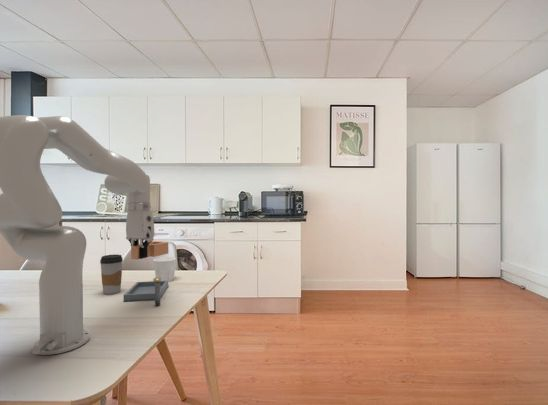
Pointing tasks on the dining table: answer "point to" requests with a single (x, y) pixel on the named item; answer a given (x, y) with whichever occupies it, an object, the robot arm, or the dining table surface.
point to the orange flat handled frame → (151, 249)
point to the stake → (157, 291)
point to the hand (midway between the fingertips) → (139, 257)
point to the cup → (165, 268)
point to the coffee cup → (111, 273)
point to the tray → (144, 291)
